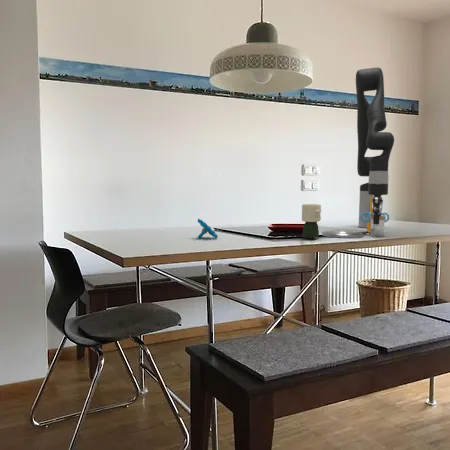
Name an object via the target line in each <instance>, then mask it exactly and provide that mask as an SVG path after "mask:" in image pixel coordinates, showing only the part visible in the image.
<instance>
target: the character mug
mask: <svg viewBox="0 0 450 450" xmlns="http://www.w3.org/2000/svg"><path fill="white" fill-rule="evenodd" d="M321 212H322V204H316V203H313V204H312V203H305V204H304V203H303V204H301V221H302V222H305V223H304V224H303V229H302V236H301V237H302V238H305V239H310V238H311V239H312V240H314V239H315V238H317V239H318V238H320V233H319V232H320V231H319V225H318V222H320V221H321V220H322V217H321V214H322V213H321Z"/></svg>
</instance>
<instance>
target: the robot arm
mask: <svg viewBox="0 0 450 450" xmlns="http://www.w3.org/2000/svg"><path fill="white" fill-rule="evenodd" d="M384 82H385V81H384V73H383V69H382V68H381V67H379V66H377V67H370V68H362V69H358V70H357V71H356V73H355V90H356V93H355V94H356V104H357V105H356V107H357V111H356V112H357V115H356V120H357V121H356V129H357V131H356V132H357V166H356V167H357V168H356V169H357V174H358V176H359V177H366V178H367V177H368V182H366V183H362V184H360V186H359V206H358V227H359V228H362V229H364V228H365V229H367V222H363V221H361V219H360V215H361V214H362V213H364V212H370V198H371V197H374V198H373V200H372V204H373V205H372V209H373V214H374V215H373V224H379V216H381V214H380V213H383V212H382V211H383V204H384V199H383V197H382V196H388V194H389V161H390V157H391V153H392V150H393V148H394V145H395V144H394V143H395V138H394V134H393V133H392V132H389V131H385V132H384V130H385V129H387V123H388V122H387V119H386V113H385V83H384ZM370 91H371V92H372V91H376V92H375V95H374V97H373V99H372V100H371V102H370V103H369V102H368V100H367V98H366V96H365V92H370ZM368 149H369V150H371V151H382V152H381V154H379V155H376V156H366V153H367V151H368ZM364 216H365V214H364V215H362V219H363V220H365V217H364ZM366 218H367V219H368V215H366Z"/></svg>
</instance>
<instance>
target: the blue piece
mask: <svg viewBox="0 0 450 450" xmlns="http://www.w3.org/2000/svg"><path fill="white" fill-rule="evenodd" d="M197 223H198V224H200V225H199V226H201V227H202V230H201V232H200V234H199V235H197V238H198V239H199V240H200V239H201V238H202V237H203V236H204V235H206V234H209V235H210V236H212V237H213V238H215V239H217V238H219V237H218V234H217V233H216V232H215V231H214V230H212V227H211V226H210V225H208V224H207V223H206V222H205V221H204V220H202V219H200V218H198V219H197Z"/></svg>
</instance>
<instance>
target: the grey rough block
mask: <svg viewBox="0 0 450 450" xmlns="http://www.w3.org/2000/svg"><path fill="white" fill-rule="evenodd" d="M385 217H386V215H385V216H383V215H382V216H379V224H373V216H371V218H370V219H371V229H370V233H369V235H370V237H374V238H382V237H383V236H385V222H384V219H385ZM383 238H384V237H383Z"/></svg>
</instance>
